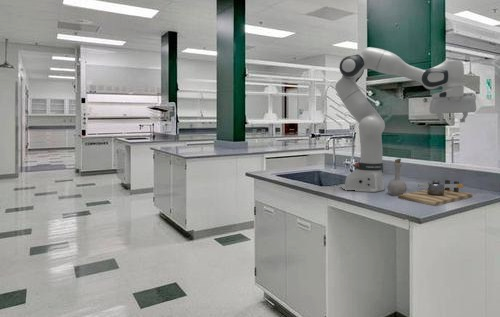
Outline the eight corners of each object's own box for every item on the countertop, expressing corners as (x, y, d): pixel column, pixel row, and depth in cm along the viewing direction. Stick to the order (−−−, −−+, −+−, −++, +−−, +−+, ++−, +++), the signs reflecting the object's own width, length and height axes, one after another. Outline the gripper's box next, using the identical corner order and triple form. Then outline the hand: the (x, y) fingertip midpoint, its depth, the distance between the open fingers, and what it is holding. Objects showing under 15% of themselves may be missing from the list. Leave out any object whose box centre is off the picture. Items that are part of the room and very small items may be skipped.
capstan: (421, 195, 165) (421, 181, 164) (415, 192, 172) (415, 179, 171) (465, 195, 164) (466, 181, 163) (457, 192, 171) (458, 179, 170)
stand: (434, 205, 153) (435, 191, 152) (398, 198, 168) (398, 184, 167) (472, 196, 169) (473, 183, 168) (435, 190, 184) (436, 178, 183)
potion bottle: (404, 196, 170) (406, 159, 168) (385, 194, 175) (386, 158, 173) (407, 193, 178) (409, 157, 176) (388, 191, 182) (390, 157, 180)
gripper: (472, 93, 172) (471, 121, 173) (428, 95, 174) (427, 123, 176) (479, 92, 166) (478, 122, 167) (433, 94, 168) (432, 123, 169)
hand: (452, 122), depth 171 cm, fingers open, 8 cm apart
